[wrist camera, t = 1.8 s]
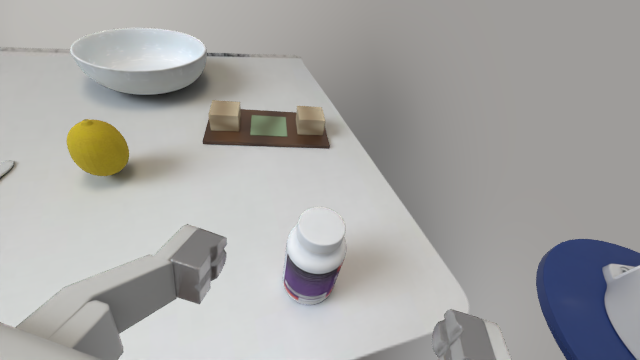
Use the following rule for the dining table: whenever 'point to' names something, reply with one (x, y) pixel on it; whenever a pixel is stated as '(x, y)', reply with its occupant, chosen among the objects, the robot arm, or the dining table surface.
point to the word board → (265, 127)
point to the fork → (5, 167)
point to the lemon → (97, 147)
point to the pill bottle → (314, 255)
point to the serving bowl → (140, 59)
